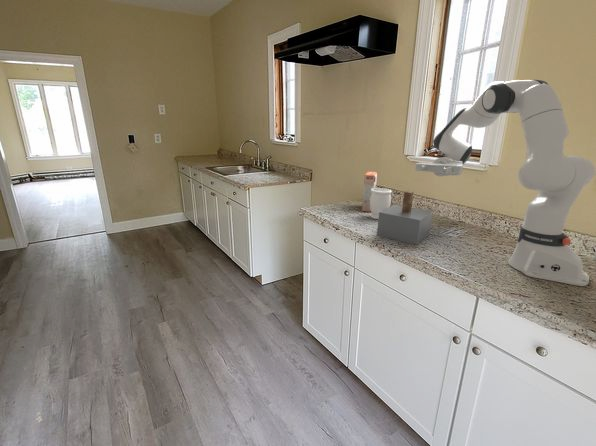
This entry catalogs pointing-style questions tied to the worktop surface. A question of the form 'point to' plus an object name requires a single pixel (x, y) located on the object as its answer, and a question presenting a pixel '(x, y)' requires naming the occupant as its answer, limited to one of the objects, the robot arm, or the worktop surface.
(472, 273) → the worktop surface
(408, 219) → the lid
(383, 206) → the jar
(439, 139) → the robot arm
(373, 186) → the cracker box
